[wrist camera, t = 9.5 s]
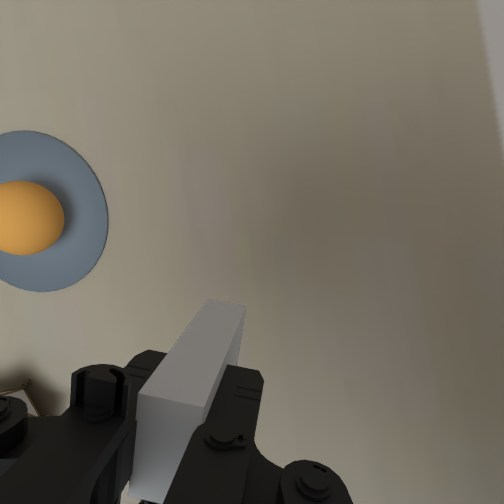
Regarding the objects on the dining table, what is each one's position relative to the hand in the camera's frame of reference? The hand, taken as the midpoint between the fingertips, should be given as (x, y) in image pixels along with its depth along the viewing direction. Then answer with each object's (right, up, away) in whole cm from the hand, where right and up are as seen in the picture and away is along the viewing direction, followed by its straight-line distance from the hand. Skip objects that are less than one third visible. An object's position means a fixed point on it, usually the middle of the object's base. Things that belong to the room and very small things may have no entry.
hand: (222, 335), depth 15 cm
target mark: (-17, +6, +17) cm, 24 cm away
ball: (-16, +6, +14) cm, 22 cm away
